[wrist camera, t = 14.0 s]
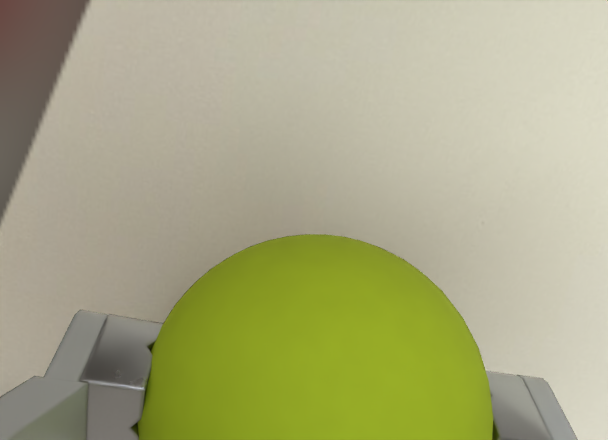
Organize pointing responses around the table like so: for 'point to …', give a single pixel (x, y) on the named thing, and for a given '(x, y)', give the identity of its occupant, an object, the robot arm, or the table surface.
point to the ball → (315, 351)
